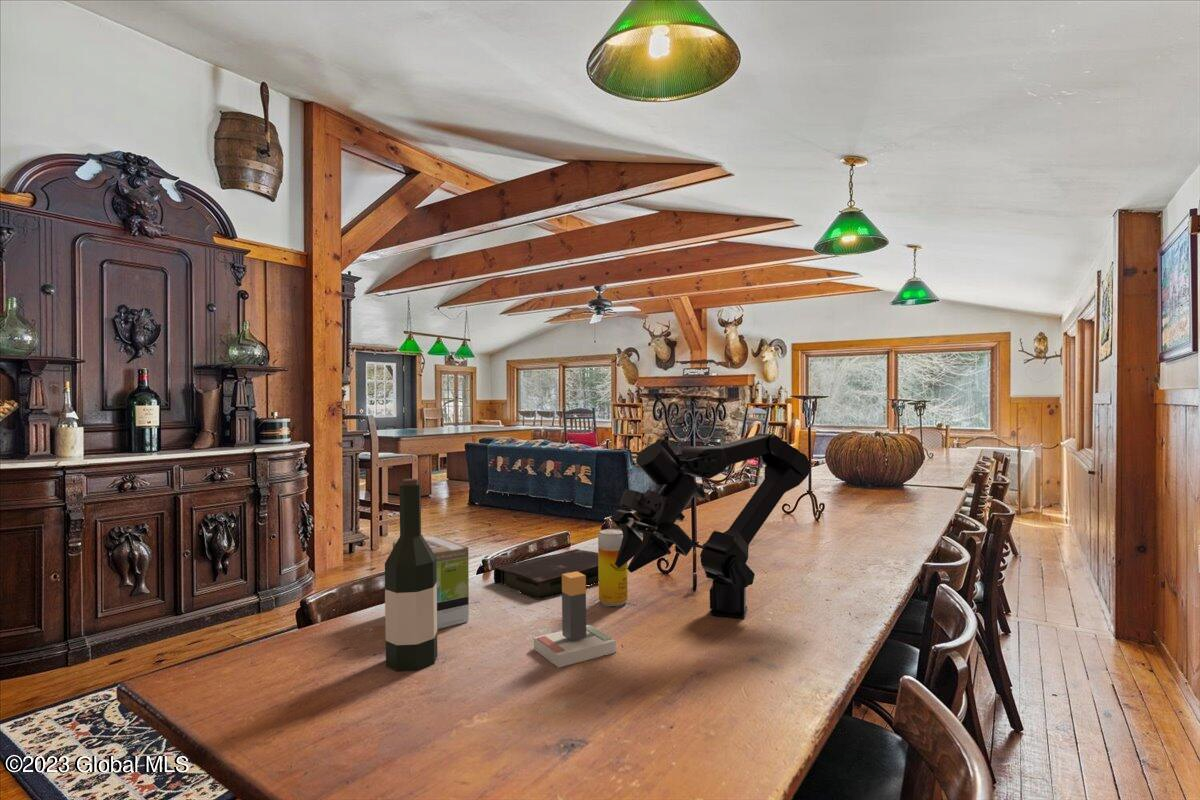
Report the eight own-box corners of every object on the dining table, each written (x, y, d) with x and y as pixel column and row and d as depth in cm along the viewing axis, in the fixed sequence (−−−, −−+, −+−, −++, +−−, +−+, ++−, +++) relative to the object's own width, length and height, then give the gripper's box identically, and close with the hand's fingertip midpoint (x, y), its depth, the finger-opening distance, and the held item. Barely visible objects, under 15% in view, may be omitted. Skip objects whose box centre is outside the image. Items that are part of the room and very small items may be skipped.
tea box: (471, 622, 124) (470, 545, 124) (421, 634, 118) (420, 554, 118) (437, 603, 136) (436, 533, 136) (391, 613, 129) (390, 540, 129)
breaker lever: (577, 631, 111) (577, 571, 111) (586, 637, 109) (585, 575, 109) (562, 635, 110) (561, 574, 110) (570, 640, 107) (570, 578, 107)
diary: (493, 586, 150) (492, 564, 150) (575, 566, 167) (574, 547, 167) (540, 603, 136) (540, 580, 136) (625, 580, 153) (624, 559, 153)
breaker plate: (588, 635, 116) (588, 623, 116) (615, 652, 108) (615, 639, 108) (533, 648, 110) (533, 636, 110) (558, 667, 103) (558, 653, 103)
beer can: (625, 608, 131) (624, 535, 131) (596, 606, 132) (595, 534, 132) (629, 599, 137) (629, 528, 137) (601, 597, 138) (601, 528, 138)
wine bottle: (390, 675, 100) (388, 484, 100) (381, 656, 108) (379, 478, 107) (443, 665, 104) (441, 480, 104) (431, 647, 111) (429, 475, 111)
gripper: (618, 468, 125) (569, 531, 120) (678, 478, 109) (625, 551, 104) (651, 504, 129) (605, 567, 124) (713, 519, 114) (664, 591, 108)
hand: (623, 568), depth 115 cm, fingers open, 4 cm apart
